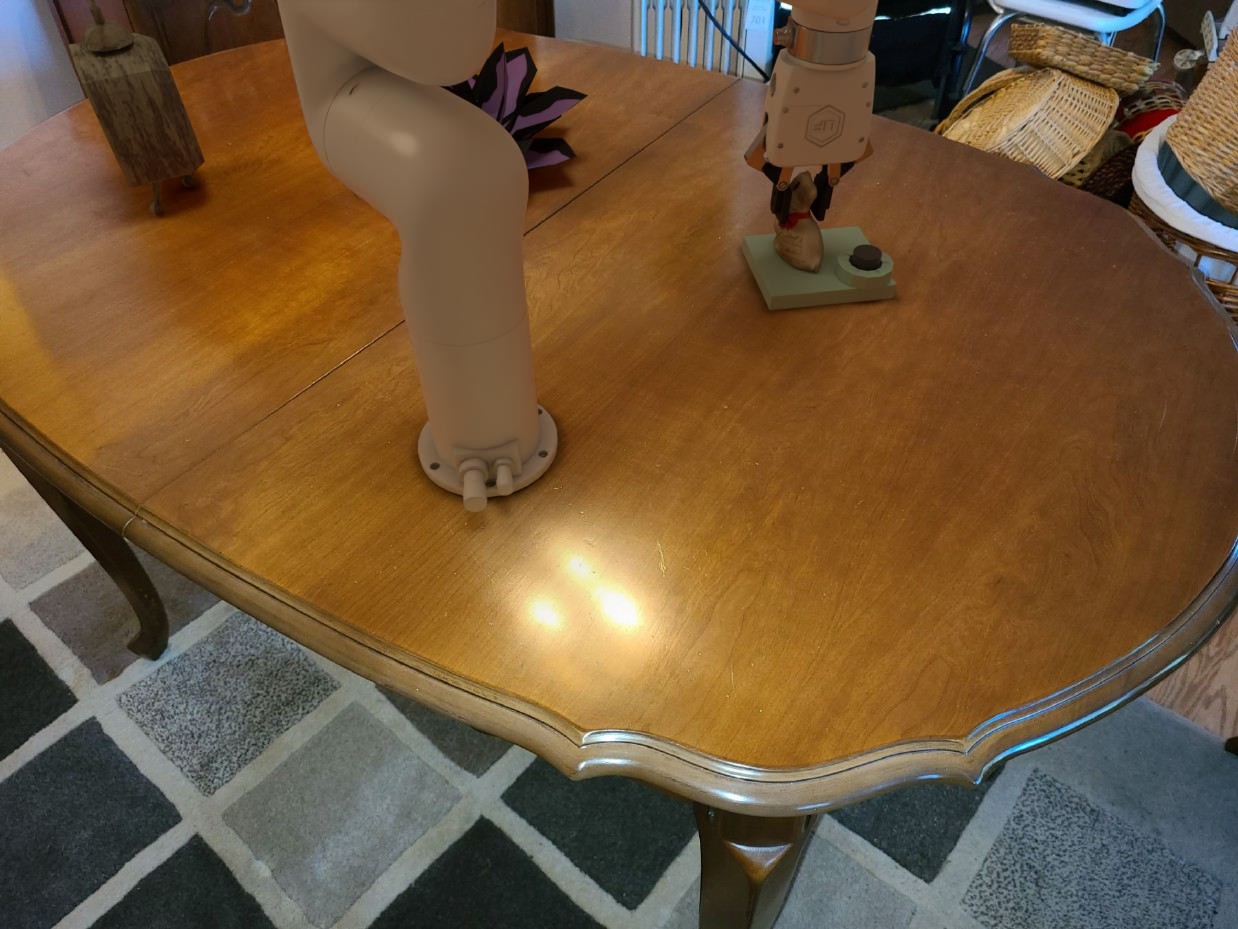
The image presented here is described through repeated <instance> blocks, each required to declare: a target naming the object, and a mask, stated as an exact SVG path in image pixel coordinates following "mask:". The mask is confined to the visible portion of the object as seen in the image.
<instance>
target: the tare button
mask: <svg viewBox="0 0 1238 929" xmlns="http://www.w3.org/2000/svg"><path fill="white" fill-rule="evenodd" d="M881 251H882V250H881V249H880V248H879V247H877V246H875V245H872V244H871V245H867V244H864V245H859V246H857V247H855V248H854V251H853V255H852V260H851V264H852V266H854V267H855V268H857V269H860V270H864V271H873V270H877V269H878V267H879V264H880V261H881V257H882V252H883V251H882V252H881Z"/></svg>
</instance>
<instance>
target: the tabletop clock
mask: <svg viewBox="0 0 1238 929" xmlns="http://www.w3.org/2000/svg"><path fill="white" fill-rule="evenodd" d="M87 1H88V4H89V11H90V14H91V16H92V18H93V21H94V22H92V23H90V24H88V26H86V29H85V30H84V33H83V38H82V41H81V42H76V43H75V42H74V43H70V44H68V48H69V51H70V55H71V57H72V60H73V64H74V67H75V70H76V73H77V75H78V77H79V80H80V83H81V85H82V87H83V89H84V92H85V94H86V97H87V98H88V101H89V103H90V105H91V108H92V109H93V112H94V114H95V116H96V118H97V120H98V123H99V124H100V127H101V130H102V132H103V133H104V136H105V138H106V140H107V142H108V144H109V146H110V149H111V151H112V154H113V155H114V157H115V159H116V162H117V163H118V166H119V168H120V170H121V172H122V174H123V177H124V178H125V181H126V183H127V185H128V187H129V188H130V189H133V188H135V187H136V188H137V187H141V186H145V185H149V184H151V185H152V193H153V200H154V201H152V202H151V203H150V204H149V211H150V212H151V213H152V214H153V215H155V216H161V215H163V213H164V212H165V206H164V205H163V203H162V202H160V199H161V198H160V197H161V187H162V185H163V183H164V181H166V180H171V179H175V178H180V177H181V184H182V185H183V186H184V187H186V188H194V186H195V185H196V178H195V177H194V176H193V175H192V174H194V173H195V172H196V171H197V170H198V169H199V168H200V167H201V166H202V165H204V163H206V159H205V157H204V155H203V151H202V149H201V147H200V144H199V141H198V138H197V136H196V133H195V130H194V128H193V125H192V123H191V120H190V118H189V115H188V112H187V109H186V107H185V104H184V102H183V99H182V97H181V96H182V95H181V94H180V91H179V89H178V86H177V84H176V81H175V79H174V76H173V72H172V71H171V68H170V67H169V66H170V65H169V64H168V62H167V59H166V57H165V56H164V54H163V51H162V49H161V47H160V45H159V44H158V42H157V40H156V38H153V37H151V36H147V35H144V34H141V33H138V32H130V31H129V30H128V29H127V28H126V27H125V26H123V25H122V24H120V23H118V22H116V21H114V20H109V19H105V16H104V13H103V12H102V9H101V8H100V6H98V5H97V3H96V1H95V0H87Z"/></svg>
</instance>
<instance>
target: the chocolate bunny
mask: <svg viewBox="0 0 1238 929" xmlns="http://www.w3.org/2000/svg"><path fill="white" fill-rule="evenodd" d="M789 187H790V188H791V190H792V198H791V204H790V210H789V216H788V222H787V223H786V224H783V225H780V223H779V221H778V219H777V217H775V219H774V222H773V228H774V233H776V236H775V238H774V241H773V243H774V245H775V251H776V253H777V254H778V255H779V256H780V257H781V258H782V259H783V260H785V262H787V263H788V264H790V265H791V266H794V267H795V268H798V269H804V270H808V271H815V272H816V271H819V269H820V267H821V263H822V261H823V256H824V244H823V238H822V234H821V231H820V229H821V228H820V226H819V224H818V222H817V220H816V219H815V217H813V214H812V212H811V210H810V206H811V204H812V203H813V201H814V200H815V199H816V198H817V188H816V186H815V184H814V179H813V177H812V174H811V172H810V171H809V170H804V171H802V172H799V173H798V174H797V175H795V177H793V179H792V180H790V184H789Z"/></svg>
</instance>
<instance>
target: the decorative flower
mask: <svg viewBox="0 0 1238 929" xmlns="http://www.w3.org/2000/svg"><path fill="white" fill-rule="evenodd" d="M537 72H538V67H537V65H536V64H535V61H534V59H533V57H532V54H531V52H530V50H529V47H528V46H523V47H521V48H516V49H511V50H509V51H506V50H505V44H504V40H503V41H501V42H500V43H499V44H498V45H497V46H496V47H495V48H494V49H493V50H492V51H491V53H490V54H489V56H488V58H487V60H486V62H485V63H484V65H483V66H482V68H481V69H480V72H478V73H476V74H475V75H474V76H473V77H471V78H469V79H468V80H466V81H463V82H461V83H458V84H456V85H451V86H439V87H441V88H444V89H446V90H448V91H449V92H451V93H453V94H455V95H457V96H458V97H460V98H462V99H464V100H466V101H468V102H469V103H471V104H473V105H475V106H476V107H478V108H480V109H481V110H483V111H484V112H486V113H487V114H489V115H490V116H491V117H492V118H494V119H495V120H496V121H497V122H499V123H500V124H501V125H502V126H503V127H504V128H505V130H506V131H507V132H508V133H509V134H510V135H511V136H512V138H513V139H514V140H515V142H516V143H517V145H518V147H519V148H520V150H521V152H522V155H523V157H524V160H525V163H526V166H527V171H535V170H539V169H542V168H546V167H551V166H554V165H557V164H560V163H563V162H565V161H568V160H571V159H573V158H577V155H576V153H575V151H574V150H573V149H572V148H573V147H571V146H570V144H569V143H568V142H567V141H566V140H565V139H564V138H563V137H534V136H536V135H537V134H539V133H540V132H542V131H543V130H545V129H546V128H548V127H549V126H551V125H552V124H553V123H554V122H556V121H558V120H559V119H560V118H562V116H563V114H564V113H566V112H568V111H570V110H571V109H573V107H575V106H576V105H578V104H579V103H581V102H582V101H583V100H584V99H586V98H587V97H589V94H586V93H583V92H580V91H578V90H575V89H572V88H568V87H565V86H564V87H563V86H559V85H555V86H553V87H551V88H549V89H547V90H545V91H535V92H529V90H530V88H531V86H532V83H533V82H534V79H535V77H536V76H537Z"/></svg>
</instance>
